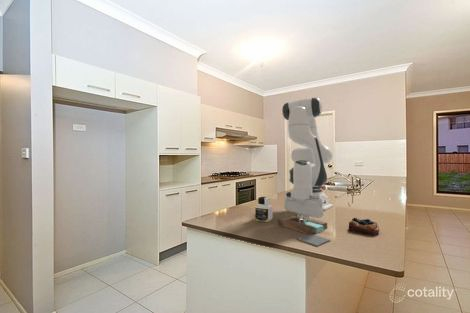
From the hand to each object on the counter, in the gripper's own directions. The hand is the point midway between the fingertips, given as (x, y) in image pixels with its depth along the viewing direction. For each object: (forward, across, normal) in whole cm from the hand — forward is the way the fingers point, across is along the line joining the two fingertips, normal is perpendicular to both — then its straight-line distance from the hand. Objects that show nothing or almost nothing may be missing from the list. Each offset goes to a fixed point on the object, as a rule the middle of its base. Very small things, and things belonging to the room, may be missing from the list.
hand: (303, 223), depth 114 cm
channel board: (+2, +1, 0) cm, 2 cm away
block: (+2, -6, 0) cm, 6 cm away
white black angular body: (+2, +21, +6) cm, 22 cm away
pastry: (+2, -21, -16) cm, 26 cm away
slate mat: (+2, -14, +11) cm, 18 cm away
